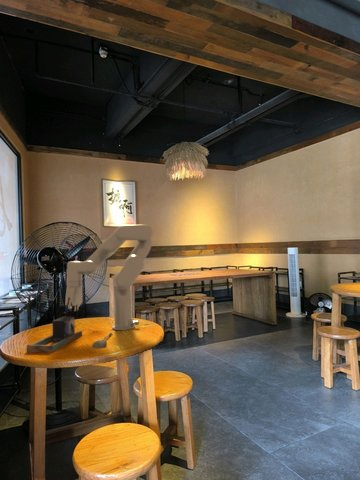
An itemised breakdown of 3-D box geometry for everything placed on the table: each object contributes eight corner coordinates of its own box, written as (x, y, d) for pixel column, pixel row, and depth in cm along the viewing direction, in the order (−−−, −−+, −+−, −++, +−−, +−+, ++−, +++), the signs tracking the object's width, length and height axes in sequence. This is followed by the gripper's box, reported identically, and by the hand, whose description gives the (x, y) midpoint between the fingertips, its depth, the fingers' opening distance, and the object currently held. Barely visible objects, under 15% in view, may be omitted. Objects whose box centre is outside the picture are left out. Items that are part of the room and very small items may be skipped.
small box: (64, 342, 154) (63, 320, 154) (52, 342, 155) (51, 320, 156) (75, 336, 164) (75, 316, 165) (64, 336, 166) (63, 316, 166)
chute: (82, 335, 166) (81, 329, 166) (50, 352, 139) (50, 345, 139) (61, 335, 168) (61, 329, 168) (26, 352, 141) (26, 345, 141)
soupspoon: (89, 351, 143) (103, 351, 142) (89, 343, 143) (103, 344, 142) (105, 335, 165) (117, 336, 164) (105, 329, 165) (117, 329, 164)
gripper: (75, 282, 180) (75, 315, 180) (60, 285, 166) (60, 321, 165) (87, 282, 179) (87, 315, 178) (73, 285, 164) (73, 321, 164)
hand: (74, 318), depth 172 cm, fingers closed
